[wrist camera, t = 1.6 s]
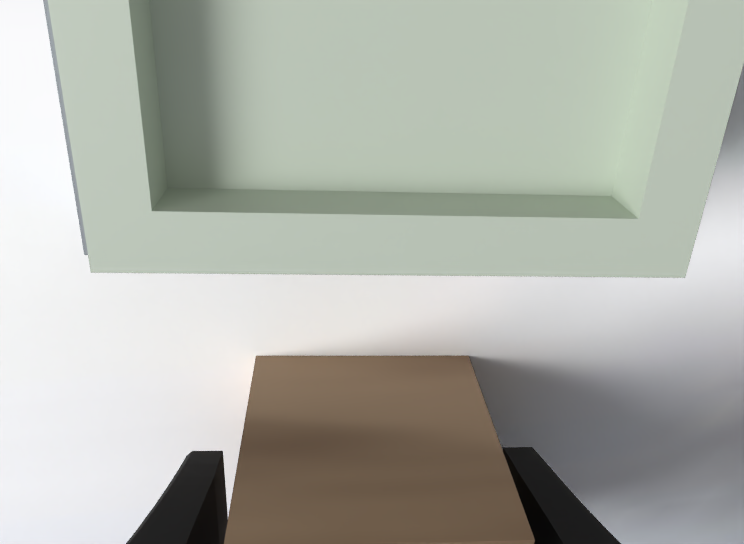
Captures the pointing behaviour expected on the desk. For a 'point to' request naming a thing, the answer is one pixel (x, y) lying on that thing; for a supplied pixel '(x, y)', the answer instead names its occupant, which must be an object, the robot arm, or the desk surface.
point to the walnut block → (371, 455)
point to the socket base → (394, 133)
